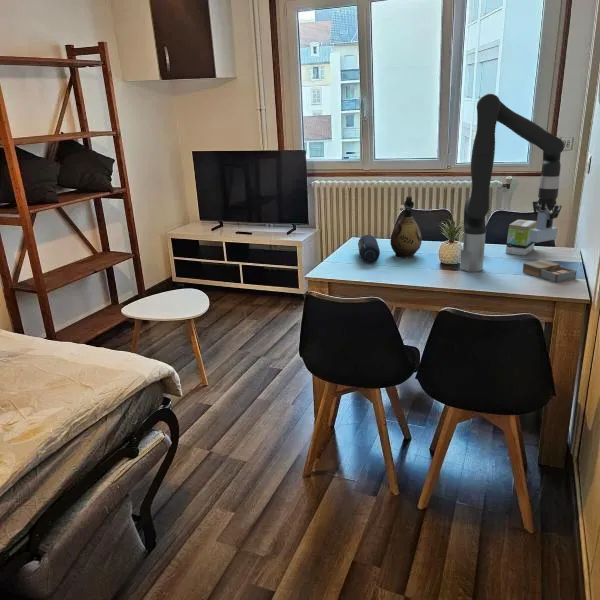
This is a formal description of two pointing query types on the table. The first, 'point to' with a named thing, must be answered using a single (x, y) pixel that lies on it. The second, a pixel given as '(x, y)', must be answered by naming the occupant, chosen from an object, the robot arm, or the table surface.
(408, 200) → the ceramic jug
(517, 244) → the tea box
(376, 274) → the table surface
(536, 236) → the scraper block
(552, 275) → the tray
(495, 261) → the table surface
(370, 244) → the portable speaker
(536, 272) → the flat wooden box
